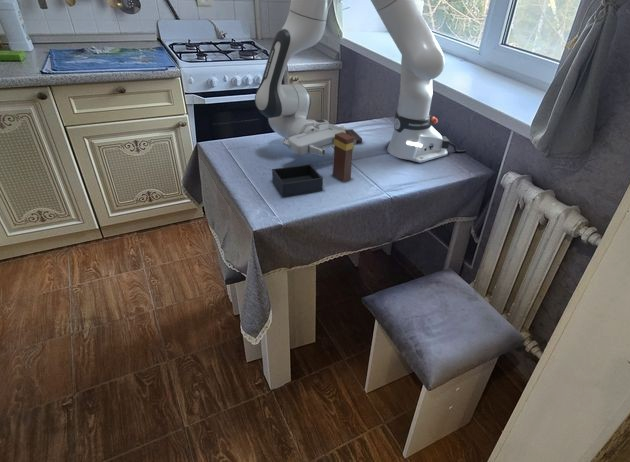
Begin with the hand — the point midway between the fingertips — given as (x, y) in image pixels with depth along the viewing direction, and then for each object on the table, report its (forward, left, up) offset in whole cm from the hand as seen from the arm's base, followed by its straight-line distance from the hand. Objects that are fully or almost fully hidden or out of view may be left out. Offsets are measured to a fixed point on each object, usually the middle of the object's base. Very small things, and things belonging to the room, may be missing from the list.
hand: (334, 149), depth 133 cm
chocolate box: (-1, +4, -8) cm, 9 cm away
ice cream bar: (-17, -25, -8) cm, 32 cm away
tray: (+14, +5, -8) cm, 17 cm away
